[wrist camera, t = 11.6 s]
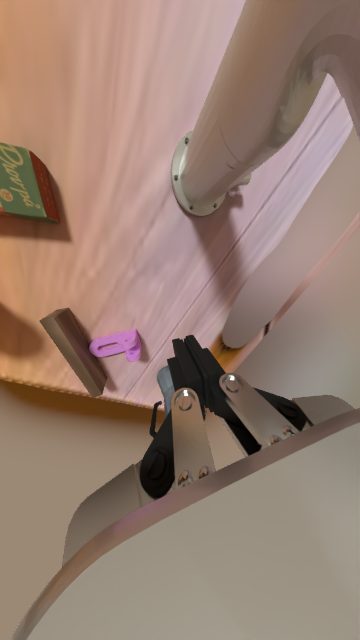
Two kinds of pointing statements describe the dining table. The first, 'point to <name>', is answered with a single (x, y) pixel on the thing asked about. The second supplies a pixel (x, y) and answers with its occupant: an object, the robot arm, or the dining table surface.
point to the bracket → (126, 343)
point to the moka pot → (167, 391)
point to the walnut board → (75, 349)
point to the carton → (25, 186)
